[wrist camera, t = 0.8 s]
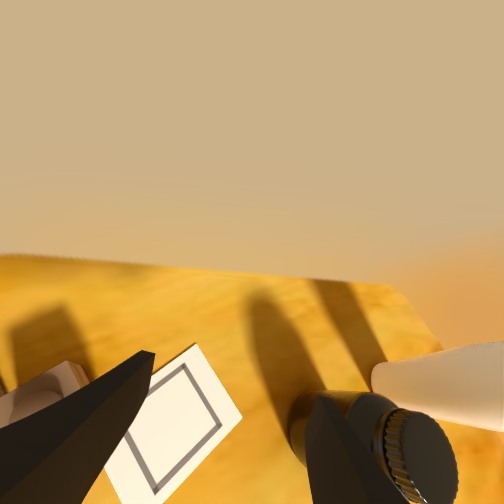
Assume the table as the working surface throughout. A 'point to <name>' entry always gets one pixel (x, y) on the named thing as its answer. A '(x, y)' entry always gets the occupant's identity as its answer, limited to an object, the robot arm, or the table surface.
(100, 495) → the table surface
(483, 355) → the drinking glass
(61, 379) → the stamp
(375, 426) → the supplement bottle
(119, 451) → the form sheet
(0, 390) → the ink pad
